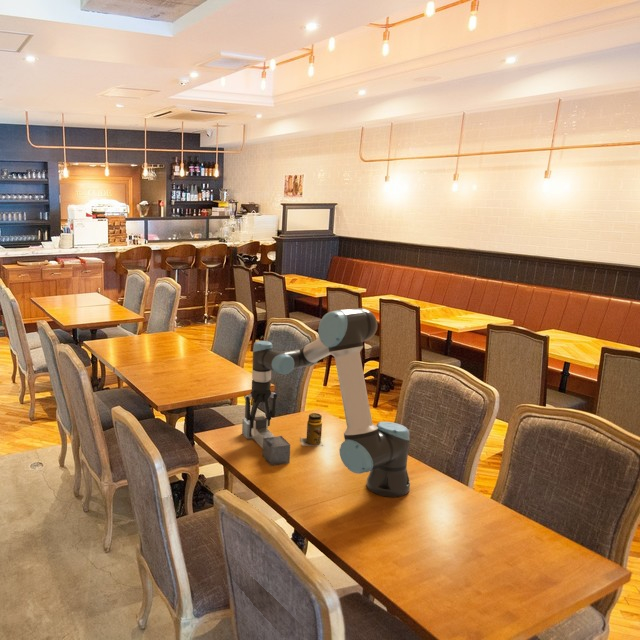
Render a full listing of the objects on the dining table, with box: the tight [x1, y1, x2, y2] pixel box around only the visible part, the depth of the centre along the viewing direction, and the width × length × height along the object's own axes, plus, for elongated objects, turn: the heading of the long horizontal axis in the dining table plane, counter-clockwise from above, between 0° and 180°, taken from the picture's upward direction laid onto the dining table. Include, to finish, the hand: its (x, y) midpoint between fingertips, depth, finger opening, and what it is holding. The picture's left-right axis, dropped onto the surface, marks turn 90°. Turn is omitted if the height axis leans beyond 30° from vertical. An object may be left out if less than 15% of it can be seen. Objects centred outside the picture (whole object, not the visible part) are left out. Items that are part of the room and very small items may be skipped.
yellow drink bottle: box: [300, 412, 324, 447], centre depth 243 cm, size 7×8×12 cm
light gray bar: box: [248, 415, 276, 450], centre depth 238 cm, size 22×4×9 cm, turn 26°
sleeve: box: [262, 435, 291, 467], centre depth 225 cm, size 9×8×7 cm
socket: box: [241, 418, 253, 440], centre depth 247 cm, size 6×8×6 cm
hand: (259, 434), depth 241 cm, fingers closed on light gray bar, 4 cm apart
